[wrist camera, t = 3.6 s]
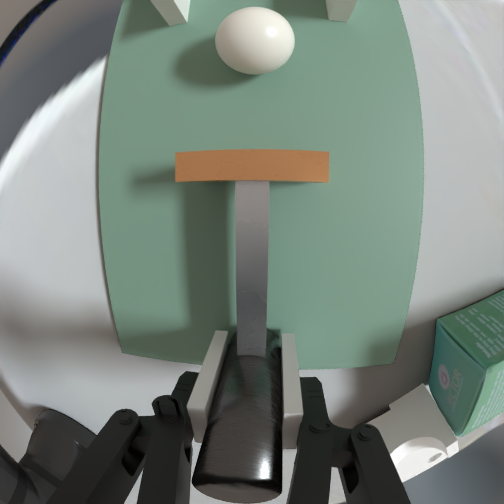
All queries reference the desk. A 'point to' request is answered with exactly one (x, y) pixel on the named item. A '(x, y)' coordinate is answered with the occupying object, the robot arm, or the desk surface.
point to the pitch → (281, 193)
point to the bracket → (415, 433)
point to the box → (470, 364)
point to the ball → (254, 40)
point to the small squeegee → (248, 328)
